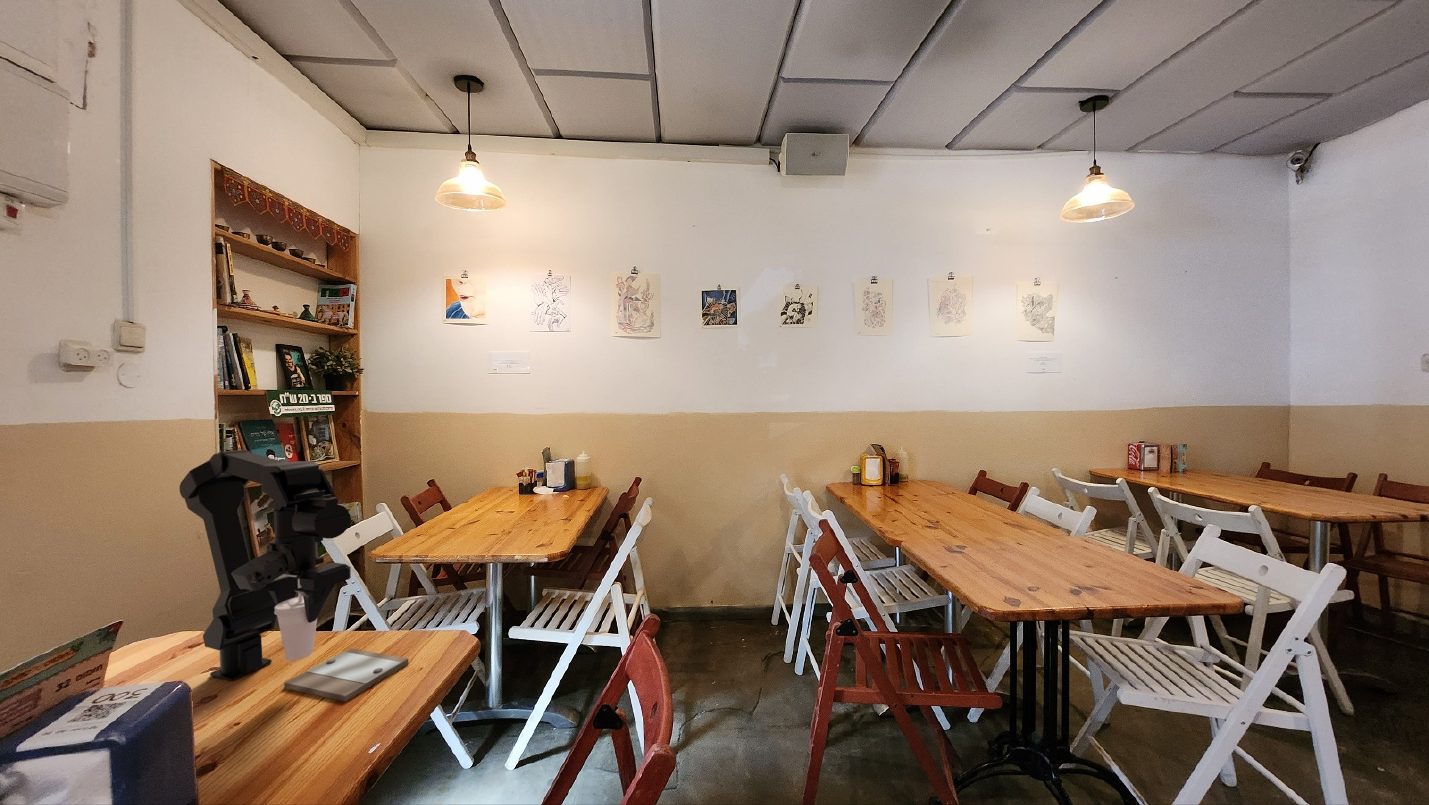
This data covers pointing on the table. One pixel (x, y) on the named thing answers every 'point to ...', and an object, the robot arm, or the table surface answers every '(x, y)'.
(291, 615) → the smoothie
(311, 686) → the gray and brown board
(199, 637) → the table surface
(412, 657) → the table surface
